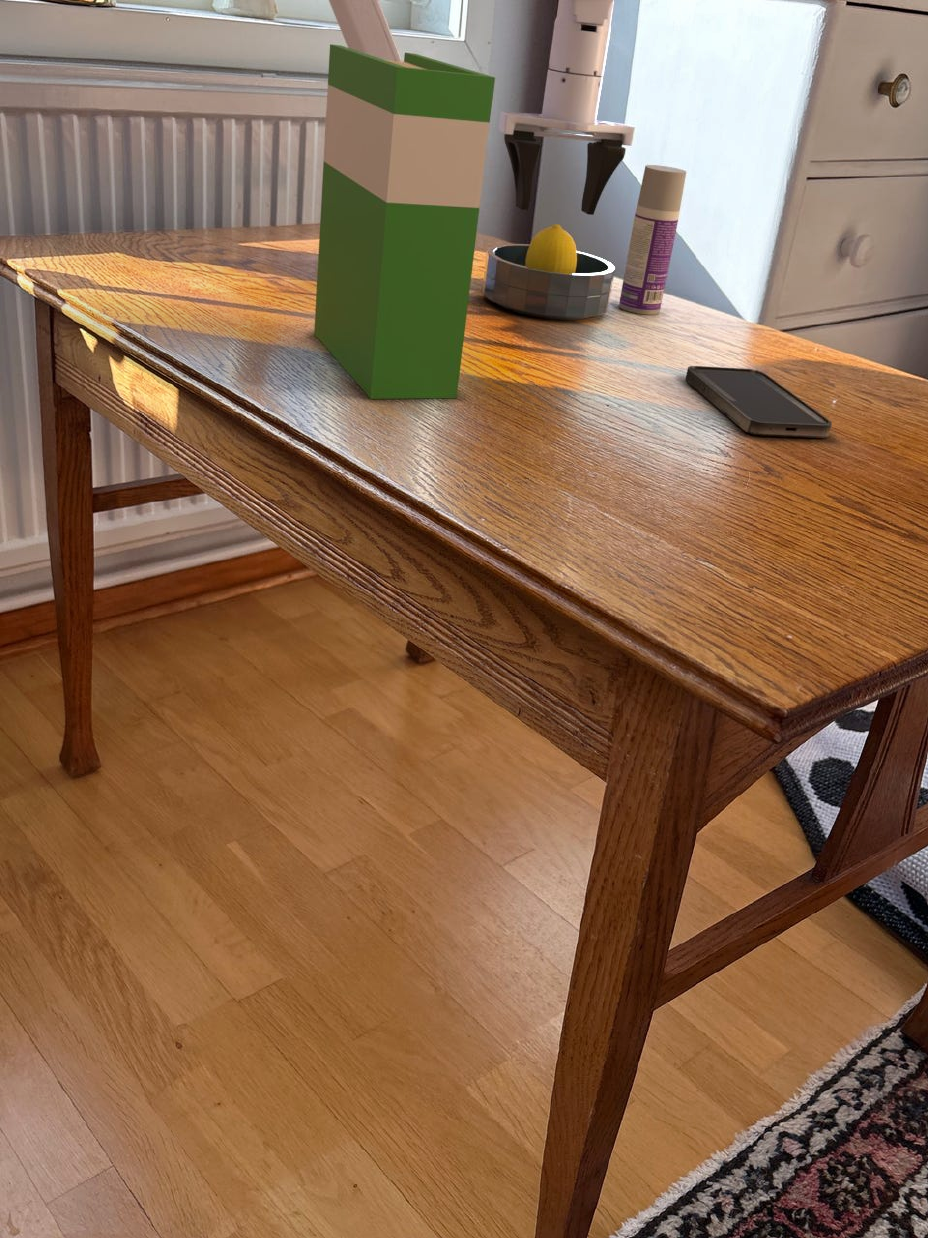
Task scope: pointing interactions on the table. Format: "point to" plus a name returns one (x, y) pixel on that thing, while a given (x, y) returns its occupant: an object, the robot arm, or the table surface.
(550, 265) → the lemon
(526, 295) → the bowl
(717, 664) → the table surface
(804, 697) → the table surface
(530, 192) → the robot arm
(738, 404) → the phone
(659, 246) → the container
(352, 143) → the green cereal box
